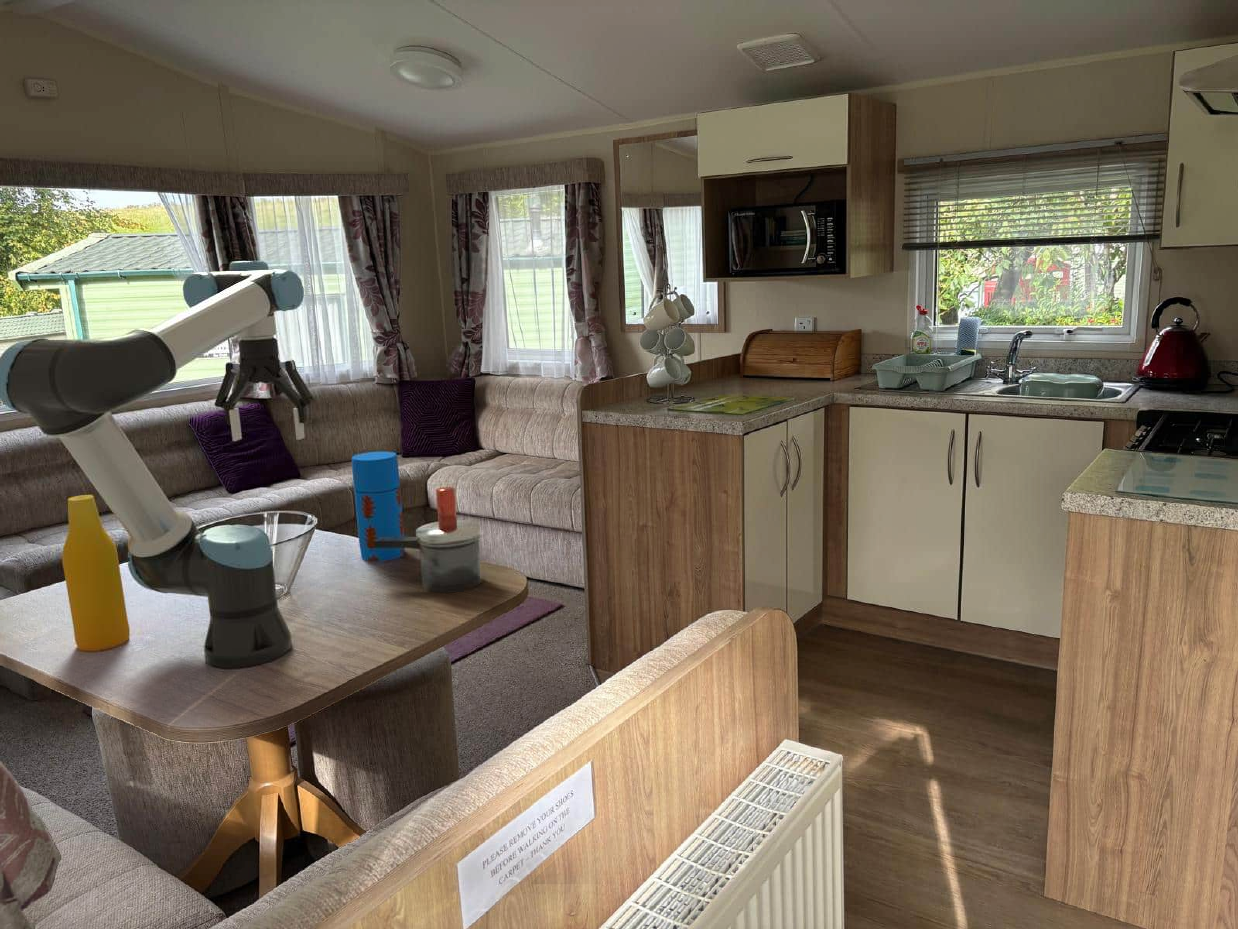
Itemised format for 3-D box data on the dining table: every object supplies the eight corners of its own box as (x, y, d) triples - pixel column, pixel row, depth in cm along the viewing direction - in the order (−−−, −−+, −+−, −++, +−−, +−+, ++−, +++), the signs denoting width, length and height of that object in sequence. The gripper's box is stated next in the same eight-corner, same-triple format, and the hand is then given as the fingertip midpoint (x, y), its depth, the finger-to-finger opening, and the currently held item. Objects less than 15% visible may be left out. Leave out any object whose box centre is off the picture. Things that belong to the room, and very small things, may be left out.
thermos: (352, 561, 224) (343, 460, 219) (371, 547, 235) (363, 451, 229) (394, 562, 223) (386, 460, 217) (412, 548, 233) (404, 451, 227)
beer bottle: (65, 648, 177) (40, 501, 170) (109, 630, 185) (86, 490, 179) (98, 655, 173) (74, 505, 167) (141, 637, 181) (119, 493, 175)
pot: (476, 592, 200) (473, 543, 198) (370, 594, 201) (365, 545, 199) (488, 571, 213) (485, 525, 211) (388, 573, 215) (384, 527, 212)
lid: (473, 544, 197) (470, 496, 195) (409, 545, 198) (405, 497, 196) (485, 525, 211) (482, 481, 209) (425, 526, 212) (421, 482, 210)
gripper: (323, 334, 193) (333, 434, 198) (207, 337, 194) (219, 437, 199) (310, 337, 186) (320, 441, 190) (189, 340, 187) (202, 443, 192)
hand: (269, 439), depth 195 cm, fingers open, 13 cm apart
